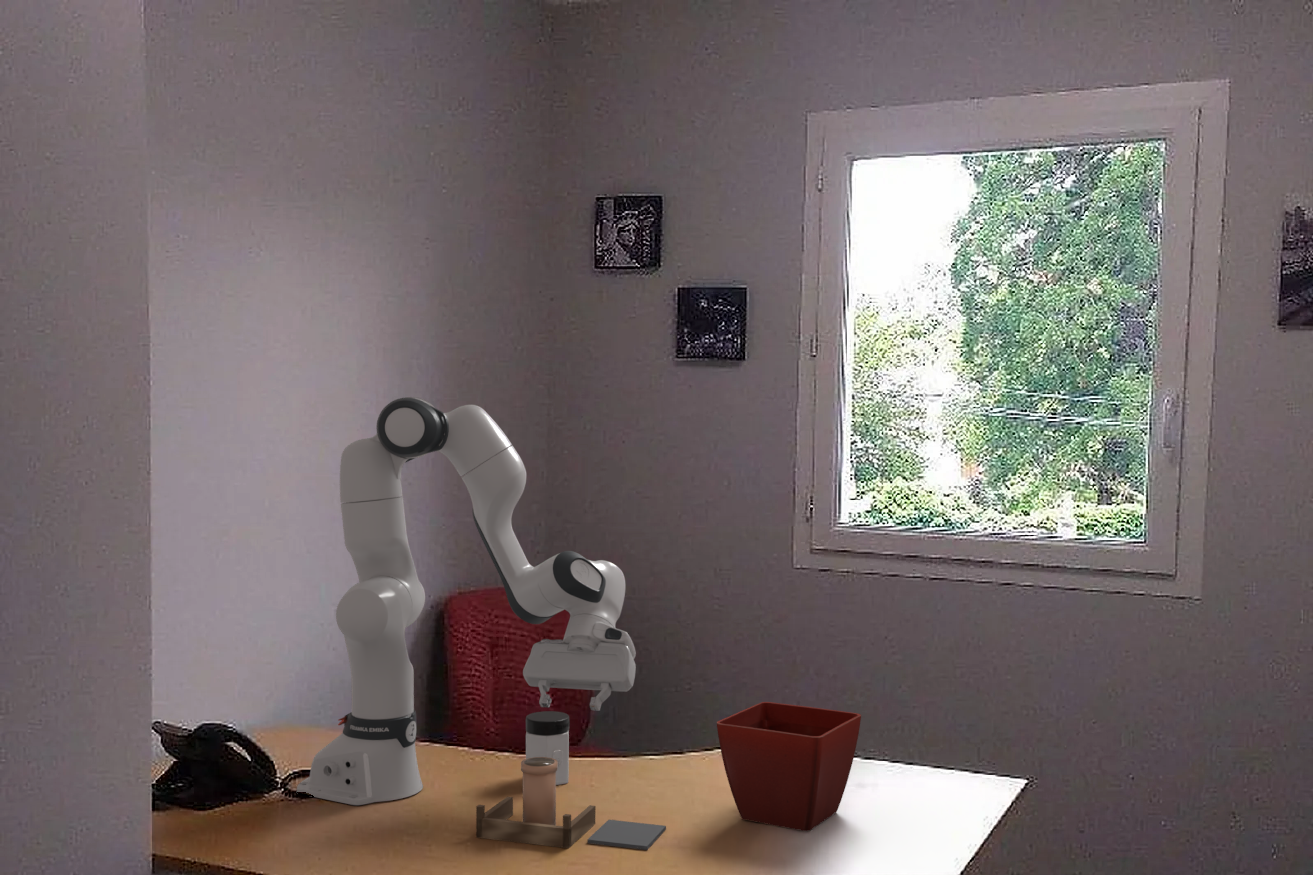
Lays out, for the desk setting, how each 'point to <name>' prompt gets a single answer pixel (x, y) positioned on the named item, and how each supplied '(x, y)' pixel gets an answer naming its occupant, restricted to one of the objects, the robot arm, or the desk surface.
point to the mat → (627, 834)
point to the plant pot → (788, 762)
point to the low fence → (531, 826)
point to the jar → (549, 740)
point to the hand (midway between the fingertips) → (568, 707)
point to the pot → (539, 790)
